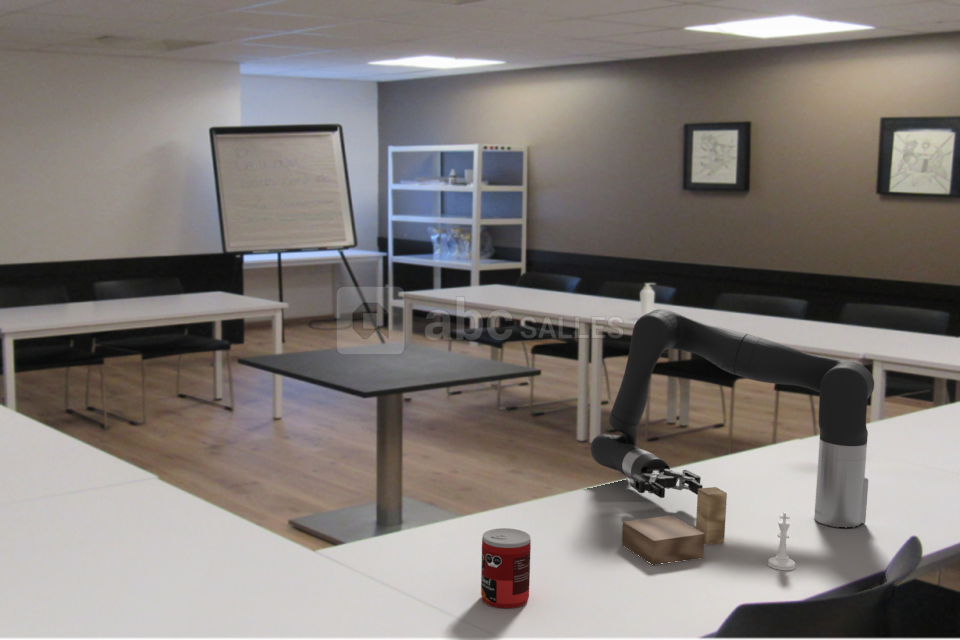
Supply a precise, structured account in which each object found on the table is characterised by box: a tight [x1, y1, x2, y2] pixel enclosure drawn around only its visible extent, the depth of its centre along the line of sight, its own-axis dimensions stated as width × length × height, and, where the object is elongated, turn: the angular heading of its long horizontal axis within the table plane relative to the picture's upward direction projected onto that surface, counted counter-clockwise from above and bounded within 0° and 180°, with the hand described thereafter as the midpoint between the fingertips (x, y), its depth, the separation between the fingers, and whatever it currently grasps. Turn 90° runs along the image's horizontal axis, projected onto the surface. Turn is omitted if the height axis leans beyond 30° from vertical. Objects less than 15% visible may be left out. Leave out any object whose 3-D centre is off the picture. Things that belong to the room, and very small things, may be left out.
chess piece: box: [767, 511, 796, 571], centre depth 181 cm, size 5×5×10 cm
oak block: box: [695, 486, 728, 546], centre depth 193 cm, size 4×4×10 cm
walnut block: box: [621, 514, 705, 566], centre depth 187 cm, size 11×11×5 cm
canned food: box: [480, 527, 532, 609], centre depth 163 cm, size 8×8×11 cm
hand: (682, 491), depth 204 cm, fingers open, 8 cm apart
